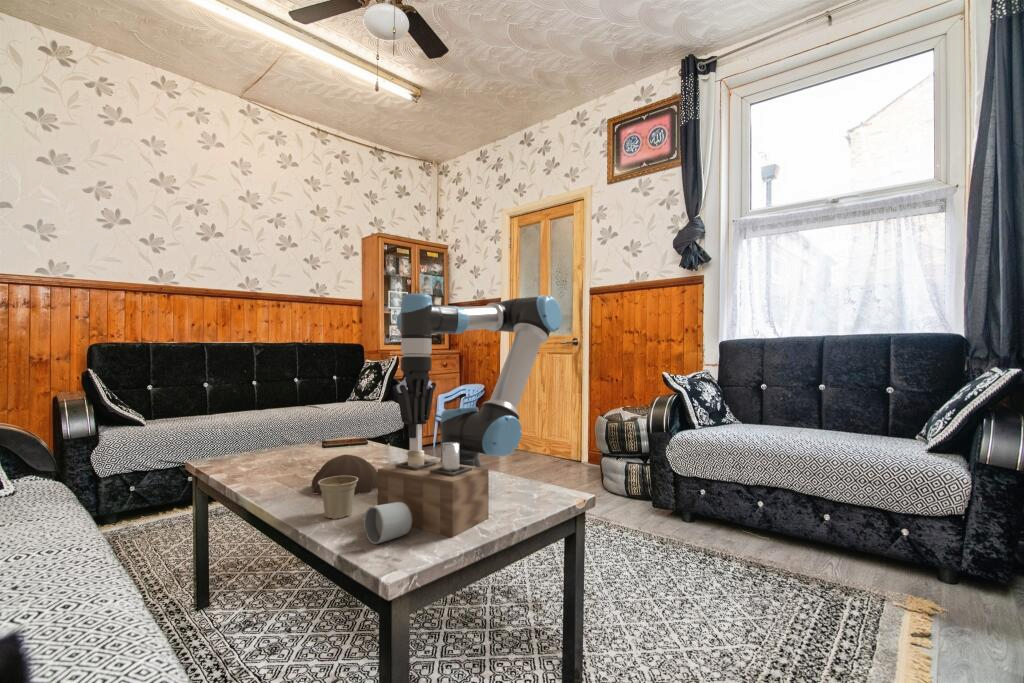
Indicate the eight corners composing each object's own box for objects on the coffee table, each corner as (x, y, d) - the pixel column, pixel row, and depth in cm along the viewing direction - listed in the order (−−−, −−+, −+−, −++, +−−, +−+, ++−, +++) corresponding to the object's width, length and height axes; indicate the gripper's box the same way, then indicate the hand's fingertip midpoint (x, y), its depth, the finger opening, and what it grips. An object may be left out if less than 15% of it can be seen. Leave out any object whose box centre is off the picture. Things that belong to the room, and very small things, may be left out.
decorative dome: (309, 500, 132) (309, 464, 132) (313, 482, 150) (313, 450, 151) (381, 494, 138) (382, 459, 138) (377, 477, 157) (377, 446, 157)
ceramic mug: (415, 537, 105) (415, 501, 105) (382, 548, 99) (382, 510, 99) (388, 526, 112) (387, 493, 112) (355, 536, 106) (355, 501, 106)
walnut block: (417, 503, 128) (417, 455, 129) (488, 518, 117) (488, 466, 117) (377, 518, 116) (377, 466, 117) (452, 537, 105) (452, 478, 105)
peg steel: (449, 487, 117) (449, 441, 117) (462, 489, 115) (462, 443, 115) (438, 491, 113) (438, 444, 113) (452, 493, 111) (452, 445, 111)
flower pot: (314, 512, 121) (315, 478, 121) (353, 506, 126) (353, 473, 126) (321, 524, 113) (321, 487, 113) (362, 517, 118) (362, 481, 118)
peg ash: (415, 492, 122) (415, 449, 122) (427, 495, 120) (427, 450, 120) (404, 496, 119) (404, 452, 119) (416, 499, 117) (416, 453, 117)
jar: (447, 509, 123) (447, 462, 123) (438, 501, 130) (438, 456, 131) (480, 505, 127) (480, 459, 127) (469, 496, 134) (469, 453, 135)
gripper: (422, 355, 128) (422, 445, 127) (386, 355, 117) (385, 453, 116) (444, 355, 124) (444, 447, 123) (409, 355, 113) (408, 457, 112)
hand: (415, 450), depth 120 cm, fingers closed
